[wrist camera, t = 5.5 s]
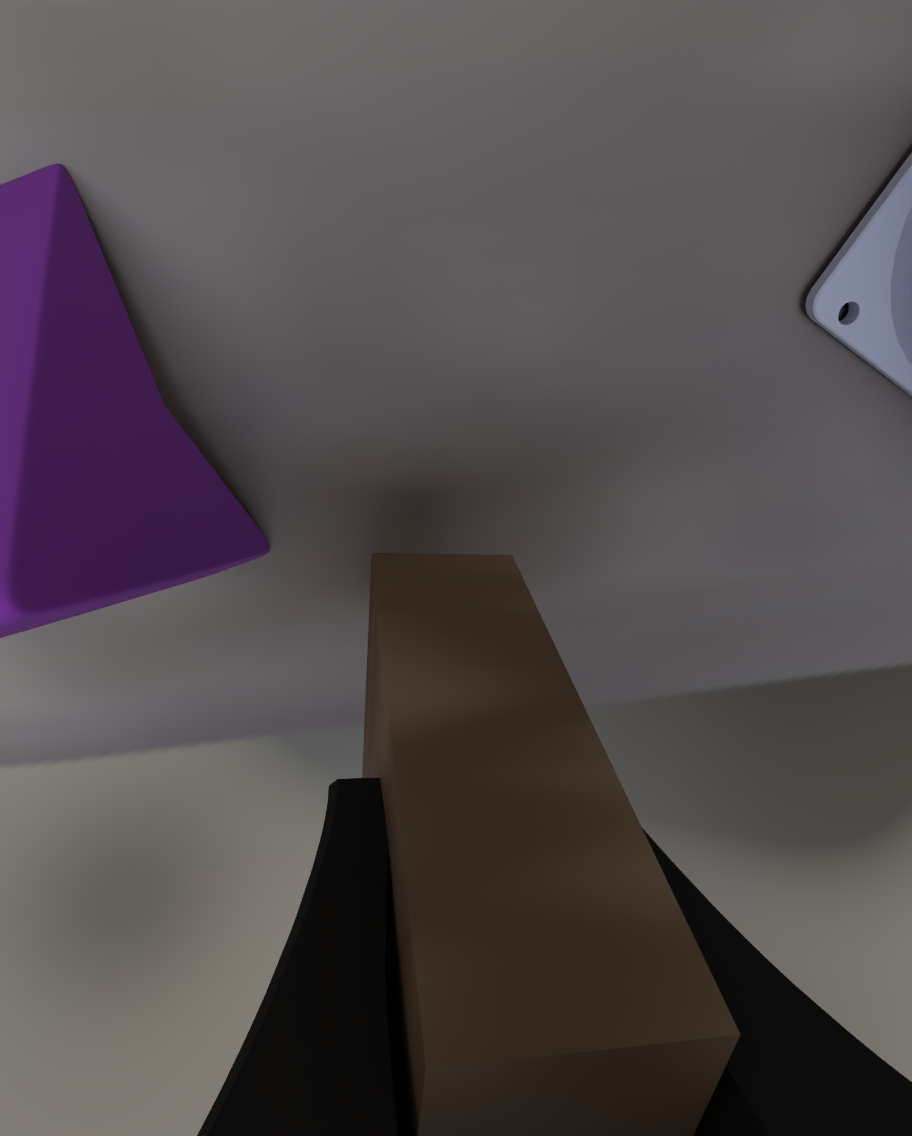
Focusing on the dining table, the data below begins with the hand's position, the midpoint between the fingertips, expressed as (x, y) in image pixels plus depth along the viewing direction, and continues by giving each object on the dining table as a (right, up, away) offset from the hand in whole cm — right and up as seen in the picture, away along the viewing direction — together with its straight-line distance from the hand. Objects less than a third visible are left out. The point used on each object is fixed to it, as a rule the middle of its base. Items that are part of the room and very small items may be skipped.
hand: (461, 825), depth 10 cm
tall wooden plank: (-1, +2, +3) cm, 4 cm away
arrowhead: (-7, +8, +6) cm, 12 cm away
